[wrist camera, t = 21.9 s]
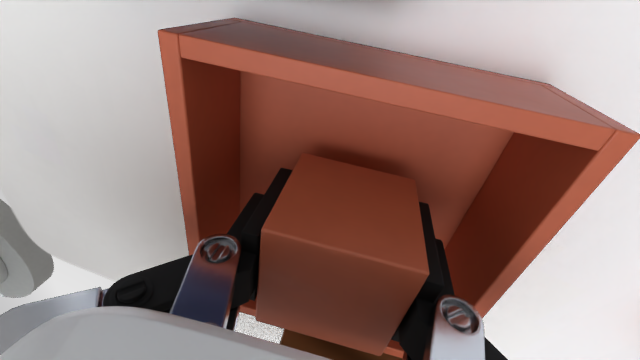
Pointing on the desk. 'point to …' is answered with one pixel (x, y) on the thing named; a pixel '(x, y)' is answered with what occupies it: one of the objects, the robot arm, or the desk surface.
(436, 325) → the robot arm
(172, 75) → the terracotta bin
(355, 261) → the terracotta block
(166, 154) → the desk surface
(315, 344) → the block
